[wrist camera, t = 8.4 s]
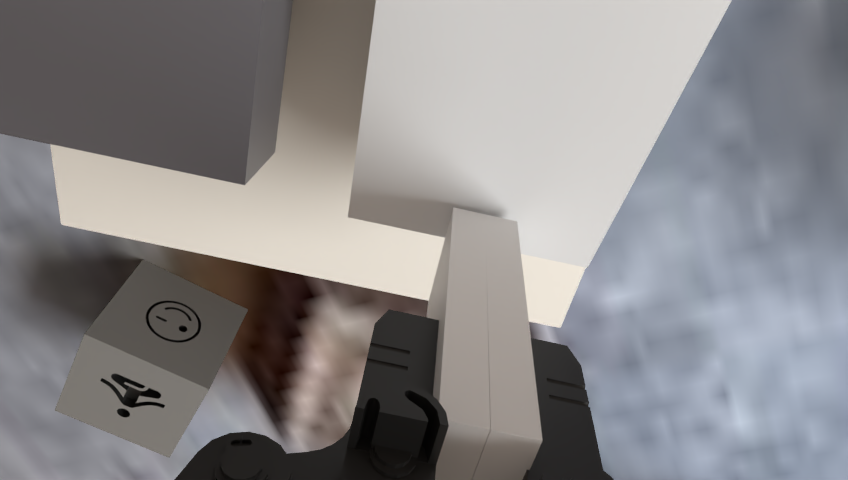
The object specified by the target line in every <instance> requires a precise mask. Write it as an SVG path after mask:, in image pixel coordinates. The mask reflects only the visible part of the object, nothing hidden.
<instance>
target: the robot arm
mask: <svg viewBox="0 0 848 480" xmlns="http://www.w3.org/2000/svg"><path fill="white" fill-rule="evenodd" d="M588 404H589V401H588V397H587V392H586V390H585V382H584V378H583V373H582V368H581V365H580V364H579V362H578V361H577V359H576V358H575V357H574V355H573V354H572V352H571V351H570V349H569V348H568V347H567V346H565V345H561V344H556V343H551V342H546V341H542V340H537V339H532V338H531V336H530V328H529V319H528V310H527V302H526V293H525V285H524V276H523V267H522V259H521V250H520V241H519V233H518V224H517V221H513V220H508V219H504V218H499V217H495V216H490V215H485V214H481V213H477V212H472V211H468V210H463V209H459V208H454V207H453V210H452V214H451V218H450V221H449V225H448V229H447V233H446V237H445V240H444V244H443V248H442V252H441V256H440V259H439V263H438V267H437V271H436V275H435V278H434V282H433V286H432V290H431V294H430V297H429V301H428V310H427V318H426V317H421V316H417V315H412V314H407V313H403V312H398V311H393V310H388V311H387V312H386V313H385V314H384V315H383V316H382V317H381V318H380V319H379V320H378V321H377V322H376V323H375V326H374V330H373V335H372V339H371V344H370V348H369V353H368V357H367V361H366V366H365V370H364V375H363V379H362V384H361V388H360V392H359V397H358V401H357V405H356V407H355V411H354V416H353V421H352V424H351V427H350V429H349V430H348V432H347V433H346V434H345V435H344V436H343V438H341V439H340V440H339V441H337V442H336V443H334V444H333V445H331V446H328V447H326V448H323V449H321V450H316V451H310V452H302V453H290V454H286V453H285V451H284V450H283V448H282V447H281V445H279V444H278V443H276V442H275V441H273V440H272V439H270V438H269V437H267V436H264V435H260V434H256V433H251V432H240V433H229V434H227V435H224V436H221V437H219V438H216V439H214V440H212V441H210V442H209V443H208V444H207V445H206V446H204V447H203V448H202V449H201V450H200V451H198V452H197V454H196V455H195V456H194V457H193V458H192V460H191V461H190V462H189V463H188V464H187V466H186V467H185V468H184V469H183V470H182V472H181V473H180V474H179V475H178V476H177V478H176V479H175V480H613V478H612V477H611V476H610V475H608V474H607V473H605V472H604V471H603V468H602V463H601V458H600V454H599V449H598V444H597V439H596V435H595V430H594V425H593V420H592V416H591V411H590V407H588Z"/></svg>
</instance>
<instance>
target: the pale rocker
mask: <svg viewBox="0 0 848 480" xmlns="http://www.w3.org/2000/svg"><path fill="white" fill-rule="evenodd" d="M731 1H732V0H376V3H375V11H374V19H373V27H372V34H371V42H370V50H369V57H368V65H367V73H366V80H365V88H364V96H363V103H362V111H361V119H360V127H359V134H358V142H357V150H356V157H355V165H354V173H353V180H352V188H351V196H350V204H349V211H348V217H349V218H354V219H359V220H363V221H368V222H373V223H377V224H382V225H387V226H392V227H396V228H401V229H406V230H411V231H415V232H420V233H425V234H429V235H434V236H439V237H444V238H445V237H446V233H447V229H448V225H449V221H450V218H451V214H452V210H453V207H454V208H459V209H463V210H468V211H472V212H477V213H481V214H485V215H490V216H495V217H499V218H504V219H508V220H513V221H517V224H518V233H519V241H520V250H521V254H524V255H529V256H534V257H538V258H543V259H548V260H552V261H557V262H562V263H567V264H571V265H576V266H581V267H586V268H588V266H589V264H590V262H591V260H592V259H593V257H594V255H595V253H596V251H597V249H598V247H599V246H600V244H601V242H602V240H603V238H604V236H605V234H606V233H607V231H608V229H609V227H610V225H611V223H612V221H613V220H614V218H615V216H616V214H617V212H618V210H619V208H620V207H621V205H622V203H623V201H624V199H625V197H626V195H627V194H628V192H629V190H630V188H631V186H632V184H633V182H634V181H635V179H636V177H637V175H638V173H639V171H640V170H641V168H642V166H643V164H644V162H645V160H646V158H647V157H648V155H649V153H650V151H651V149H652V147H653V145H654V144H655V142H656V140H657V138H658V136H659V134H660V132H661V131H662V129H663V127H664V125H665V123H666V121H667V119H668V118H669V116H670V114H671V112H672V110H673V108H674V106H675V105H676V103H677V101H678V99H679V97H680V95H681V93H682V92H683V90H684V88H685V86H686V84H687V82H688V80H689V79H690V77H691V75H692V73H693V71H694V69H695V67H696V66H697V64H698V62H699V60H700V58H701V56H702V55H703V53H704V51H705V49H706V47H707V45H708V43H709V42H710V40H711V38H712V36H713V34H714V32H715V30H716V29H717V27H718V25H719V23H720V21H721V19H722V17H723V16H724V14H725V12H726V10H727V8H728V6H729V4H730V3H731Z"/></svg>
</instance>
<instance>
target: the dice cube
mask: <svg viewBox="0 0 848 480" xmlns="http://www.w3.org/2000/svg"><path fill="white" fill-rule="evenodd" d="M247 311H248V310H247V309H245V308H243V307H241V306H239V305H237V304H235V303H233V302H231V301H229V300H227V299H225V298H222V297H220V296H218V295H216V294H214V293H212V292H210V291H208V290H206V289H204V288H202V287H199V286H197V285H195V284H193V283H191V282H189V281H187V280H185V279H183V278H181V277H179V276H177V275H174V274H172V273H170V272H168V271H166V270H164V269H162V268H160V267H158V266H156V265H154V264H152V263H149V262H147V261H145V260H142V261H141V263H140V264H139V265H138V267H137V268H136V269H135V270H134V272H133V273H132V274H131V275H130V277H129V278H128V279H127V280H126V282H125V283H124V284H123V286H122V287H121V288H120V289H119V291H118V292H117V293H116V294H115V296H114V297H113V298H112V300H111V301H110V302H109V303H108V305H107V306H106V307H105V308H104V310H103V311H102V312H101V313H100V315H99V316H98V317H97V319H96V320H95V321H94V322H93V324H92V325H91V326H90V327H89V329H88V330H87V331H86V333H85V334H84V336H83V339H82V341H81V344H80V346H79V349H78V352H77V354H76V357H75V359H74V362H73V364H72V367H71V370H70V372H69V375H68V377H67V380H66V383H65V385H64V388H63V390H62V393H61V395H60V398H59V401H58V403H57V406H56V408H55V411H57V412H60V413H62V414H65V415H67V416H70V417H72V418H74V419H77V420H79V421H82V422H84V423H86V424H89V425H91V426H94V427H96V428H99V429H101V430H103V431H106V432H108V433H111V434H113V435H116V436H118V437H120V438H123V439H125V440H128V441H130V442H133V443H135V444H137V445H140V446H142V447H145V448H147V449H149V450H152V451H154V452H157V453H159V454H162V455H164V456H166V457H170V456H171V454H172V452H173V451H174V449H175V447H176V445H177V444H178V442H179V440H180V438H181V437H182V435H183V433H184V432H185V430H186V428H187V426H188V425H189V423H190V421H191V420H192V418H193V416H194V414H195V413H196V411H197V409H198V408H199V406H200V404H201V402H202V401H203V399H204V397H205V395H206V394H207V392H208V390H209V388H210V386H211V384H212V382H213V380H214V378H215V376H216V374H217V372H218V370H219V368H220V366H221V364H222V362H223V360H224V358H225V356H226V354H227V352H228V350H229V347H230V345H231V343H232V341H233V339H234V337H235V335H236V333H237V331H238V329H239V327H240V325H241V323H242V321H243V319H244V317H245V315H246V313H247Z"/></svg>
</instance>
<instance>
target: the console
mask: <svg viewBox="0 0 848 480" xmlns="http://www.w3.org/2000/svg"><path fill="white" fill-rule="evenodd" d="M375 3H376V0H293V5H292V13H291V22H290V30H289V38H288V47H287V55H286V64H285V72H284V81H283V89H282V98H281V106H280V114H279V123H278V131H277V140H276V148H275V153H274V154H273V155H272V156H271V157H270V159H269V160H268V161H267V162H266V163H265V164H264V165H263V166H262V167H261V168H260V169H259V170H258V172H257V173H256V174H255V175H254V176H253V177H252V178H251V179H250V180H249V181H248V182H247V183H246V185H241V184H236V183H231V182H227V181H222V180H217V179H213V178H208V177H203V176H198V175H194V174H189V173H184V172H180V171H175V170H170V169H165V168H161V167H156V166H151V165H147V164H142V163H137V162H132V161H128V160H123V159H118V158H114V157H109V156H104V155H99V154H95V153H90V152H85V151H81V150H76V149H71V148H66V147H62V146H57V145H52V144H50V146H51V153H52V160H53V168H54V175H55V183H56V190H57V197H58V205H59V212H60V219H61V225H65V226H70V227H75V228H80V229H85V230H89V231H94V232H99V233H104V234H109V235H114V236H118V237H123V238H128V239H133V240H138V241H143V242H147V243H152V244H157V245H162V246H167V247H172V248H176V249H181V250H186V251H191V252H196V253H201V254H205V255H210V256H215V257H220V258H225V259H230V260H234V261H239V262H244V263H249V264H254V265H259V266H263V267H268V268H273V269H278V270H283V271H288V272H292V273H297V274H302V275H307V276H312V277H317V278H321V279H326V280H331V281H336V282H341V283H346V284H350V285H355V286H360V287H365V288H370V289H375V290H379V291H384V292H389V293H394V294H399V295H404V296H409V297H413V298H418V299H423V300H428V301H429V297H430V294H431V290H432V286H433V282H434V278H435V275H436V271H437V267H438V263H439V259H440V256H441V252H442V248H443V244H444V240H445V238H444V237H439V236H434V235H429V234H425V233H420V232H415V231H411V230H406V229H401V228H396V227H392V226H387V225H382V224H377V223H373V222H368V221H363V220H359V219H354V218H349V217H348V211H349V204H350V196H351V188H352V180H353V173H354V165H355V157H356V150H357V142H358V134H359V127H360V119H361V111H362V103H363V96H364V88H365V80H366V73H367V65H368V57H369V50H370V42H371V34H372V27H373V19H374V11H375ZM521 259H522V267H523V276H524V285H525V293H526V302H527V310H528V319H529V322H534V323H539V324H544V325H549V326H554V327H558V328H561V325H562V323H563V321H564V318H565V316H566V313H567V311H568V309H569V306H570V304H571V302H572V299H573V297H574V294H575V292H576V290H577V287H578V285H579V283H580V280H581V278H582V275H583V273H584V271H585V268H586V267H581V266H576V265H571V264H567V263H562V262H557V261H552V260H548V259H543V258H538V257H534V256H529V255H524V254H521Z"/></svg>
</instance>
